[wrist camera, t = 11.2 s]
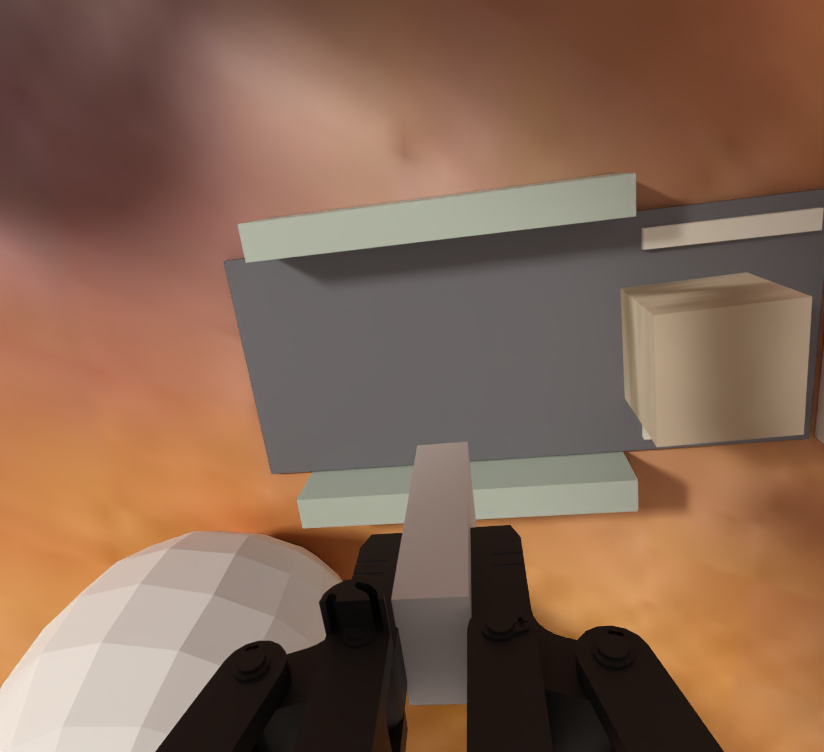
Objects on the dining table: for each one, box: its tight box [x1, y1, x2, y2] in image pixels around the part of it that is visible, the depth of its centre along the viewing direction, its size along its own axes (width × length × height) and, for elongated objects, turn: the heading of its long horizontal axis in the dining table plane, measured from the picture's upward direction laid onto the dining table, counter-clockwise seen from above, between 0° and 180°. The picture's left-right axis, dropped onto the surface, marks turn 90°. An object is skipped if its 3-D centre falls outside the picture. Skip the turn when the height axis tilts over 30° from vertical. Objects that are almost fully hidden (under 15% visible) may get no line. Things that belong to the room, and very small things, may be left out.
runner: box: [224, 189, 824, 474], centre depth 31 cm, size 30×13×1 cm, turn 97°
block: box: [620, 272, 812, 447], centre depth 27 cm, size 6×6×6 cm
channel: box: [238, 173, 638, 528], centre depth 31 cm, size 18×17×4 cm
